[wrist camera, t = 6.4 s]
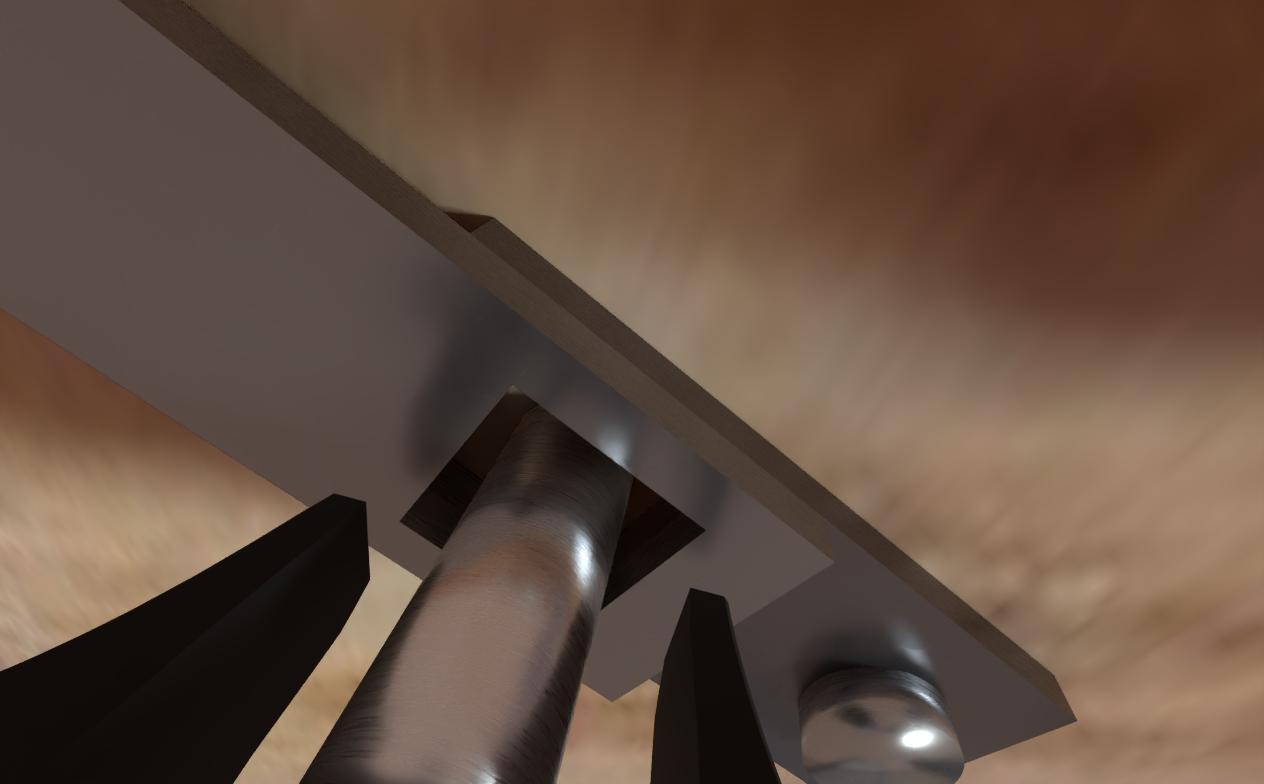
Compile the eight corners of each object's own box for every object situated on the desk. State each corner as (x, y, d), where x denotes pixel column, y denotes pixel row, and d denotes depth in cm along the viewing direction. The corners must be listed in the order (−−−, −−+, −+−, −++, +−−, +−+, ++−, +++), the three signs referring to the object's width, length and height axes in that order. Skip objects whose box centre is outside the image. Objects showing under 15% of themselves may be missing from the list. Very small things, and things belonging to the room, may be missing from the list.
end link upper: (819, 484, 13) (834, 562, 11) (628, 622, 17) (612, 702, 15) (72, -127, 10) (-108, -178, 8) (17, 203, 13) (-120, 231, 11)
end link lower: (1054, 675, 15) (1104, 773, 13) (838, 766, 18) (851, 855, 16) (494, 217, 11) (440, 252, 9) (351, 432, 15) (287, 493, 13)
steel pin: (649, 418, 13) (550, 811, 6) (623, 516, 15) (520, 918, 8) (520, 384, 13) (284, 733, 6) (508, 485, 15) (305, 855, 8)
